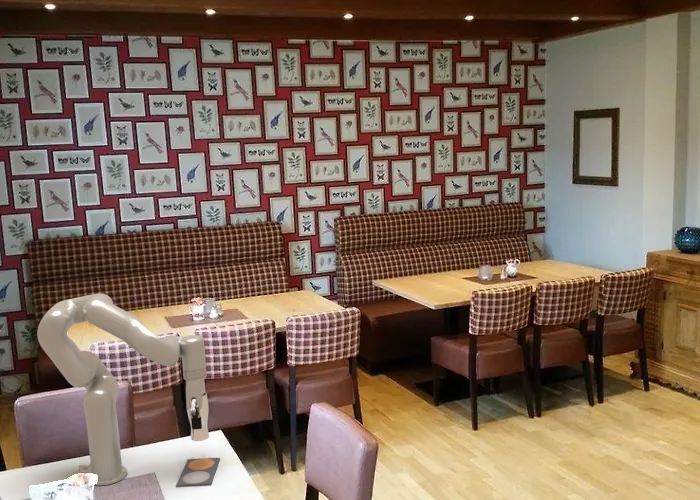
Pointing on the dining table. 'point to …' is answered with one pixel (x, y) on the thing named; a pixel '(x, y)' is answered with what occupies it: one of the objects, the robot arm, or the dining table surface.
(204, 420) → the beer glass
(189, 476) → the mat
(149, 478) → the dining table surface
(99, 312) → the robot arm
